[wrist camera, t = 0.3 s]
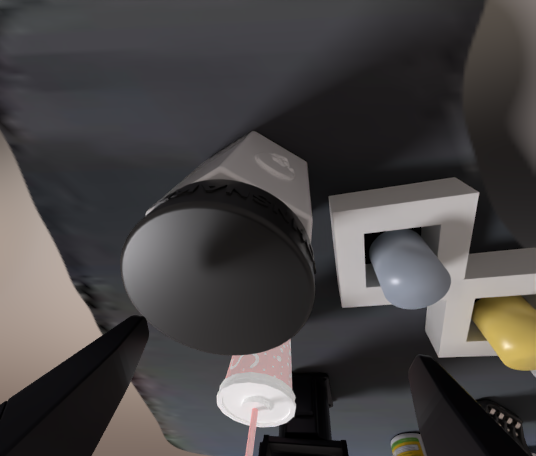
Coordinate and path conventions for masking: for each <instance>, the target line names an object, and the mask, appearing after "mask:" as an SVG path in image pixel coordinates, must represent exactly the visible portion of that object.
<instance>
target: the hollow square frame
mask: <svg viewBox="0 0 536 456" xmlns="http://www.w3.org/2000/svg"><path fill="white" fill-rule="evenodd" d="M459 282H460V281H459ZM461 286H463V289H462V295H461V299H459V300H448V299H447V300H445V301H438V302H436V303H434V304H432V305H430V306H427V315H426V326H425V331H426V333H427V335H428V337H429V339H430V341H431V343H432V345H433V347H434V349H435V351H436V353H437V355H438V357H439V358H440V357H470V356H498V355H497V353H496V352H495V351H494V349H493V348H492V346H491V345H490V344H489V342H488V341H487V339H486V338H485V337H484V335H483V334H482V333H481V331H480V330H479V328H478V327H477V326H476V324H475V323H474V321H473V320H472V318H471V316H472V311H473V306H474V301H475V298H488V297H502V296H516V295H521V296H522V297H523V298H524V299H525V300H526V301H527V302H528V303H529V304H530V305H531V306H532V307H533V308H534V309H535V310H536V247H533V248H523V249H513V250H503V251H493V252H483V253H473V254H469V255H468V261H467V266H466V272H465V278H464V284H463V285H461ZM452 287H453V286H452ZM459 290H460V289H459ZM450 293H451V292H450ZM447 295H448V294H447ZM448 296H449V295H448ZM459 297H460V295H459Z"/></svg>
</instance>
